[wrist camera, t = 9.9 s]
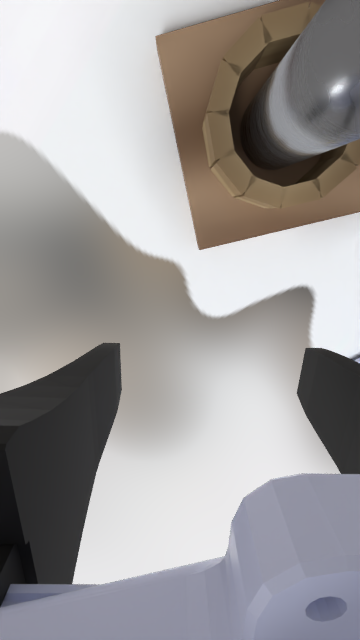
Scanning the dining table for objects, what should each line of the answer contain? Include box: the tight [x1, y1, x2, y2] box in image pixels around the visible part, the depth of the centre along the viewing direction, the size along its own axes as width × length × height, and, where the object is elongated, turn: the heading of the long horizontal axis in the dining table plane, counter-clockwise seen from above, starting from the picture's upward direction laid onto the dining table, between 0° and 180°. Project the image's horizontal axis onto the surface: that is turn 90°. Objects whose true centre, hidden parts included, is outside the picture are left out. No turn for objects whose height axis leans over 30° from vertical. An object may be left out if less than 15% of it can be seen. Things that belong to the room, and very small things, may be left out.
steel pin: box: [240, 0, 360, 170], centre depth 13 cm, size 4×4×9 cm
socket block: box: [156, 0, 360, 250], centre depth 16 cm, size 11×11×4 cm
